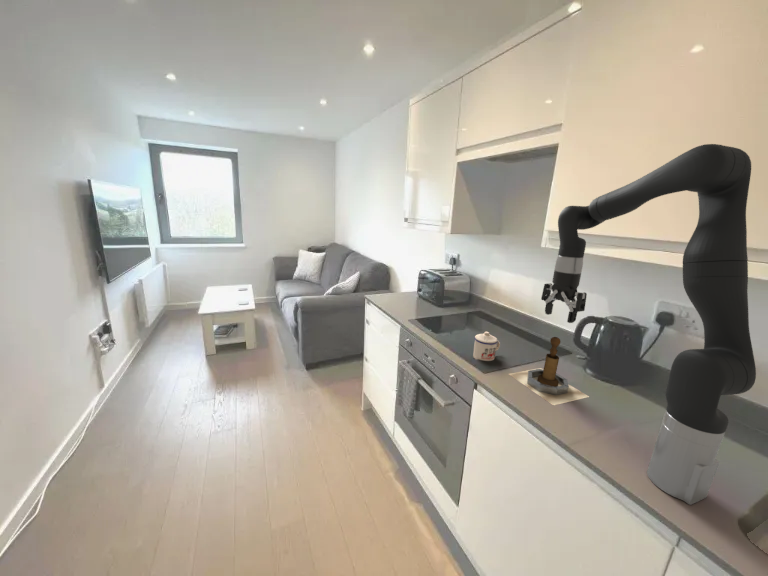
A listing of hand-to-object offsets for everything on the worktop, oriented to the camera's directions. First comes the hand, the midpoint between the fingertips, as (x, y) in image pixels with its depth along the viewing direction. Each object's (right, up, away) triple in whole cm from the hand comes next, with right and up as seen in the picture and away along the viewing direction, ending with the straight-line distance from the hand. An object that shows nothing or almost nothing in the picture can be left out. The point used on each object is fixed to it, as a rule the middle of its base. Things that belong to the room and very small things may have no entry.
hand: (558, 318), depth 102 cm
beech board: (-1, -25, +6) cm, 26 cm away
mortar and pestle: (-1, -24, +6) cm, 25 cm away
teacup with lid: (-15, -20, +27) cm, 37 cm away
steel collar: (-1, -24, +6) cm, 25 cm away
